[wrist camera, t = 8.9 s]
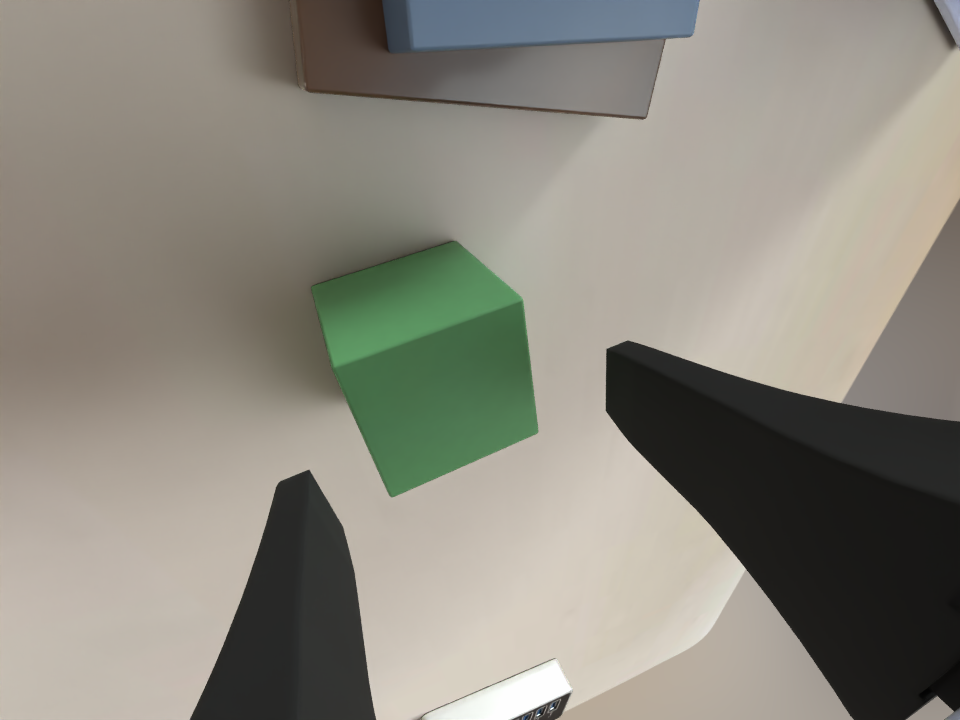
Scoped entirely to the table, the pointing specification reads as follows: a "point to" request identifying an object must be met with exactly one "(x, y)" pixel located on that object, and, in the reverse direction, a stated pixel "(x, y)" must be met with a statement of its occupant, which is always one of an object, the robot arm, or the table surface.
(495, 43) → the middle block
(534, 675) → the multiport hub
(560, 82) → the base slab
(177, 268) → the table surface
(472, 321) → the green cube
